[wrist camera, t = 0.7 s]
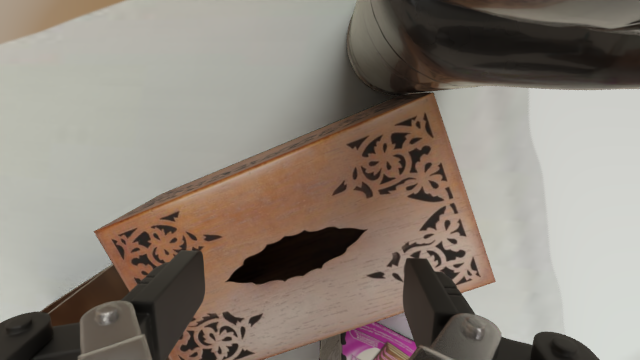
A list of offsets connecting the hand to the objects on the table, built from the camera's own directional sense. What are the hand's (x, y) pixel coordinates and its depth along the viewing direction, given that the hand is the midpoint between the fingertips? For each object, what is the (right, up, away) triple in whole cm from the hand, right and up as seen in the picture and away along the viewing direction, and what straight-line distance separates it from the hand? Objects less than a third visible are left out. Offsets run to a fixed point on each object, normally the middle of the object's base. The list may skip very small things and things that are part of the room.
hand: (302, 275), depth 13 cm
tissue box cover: (-1, +1, +21) cm, 21 cm away
